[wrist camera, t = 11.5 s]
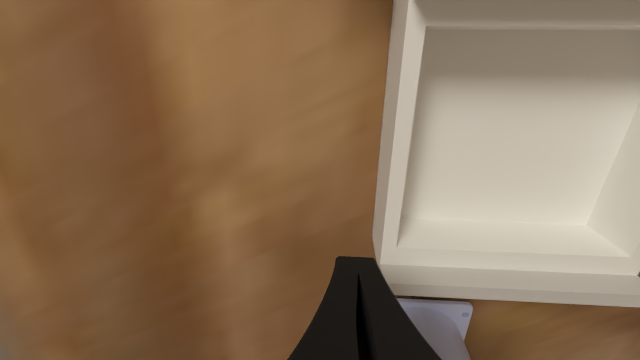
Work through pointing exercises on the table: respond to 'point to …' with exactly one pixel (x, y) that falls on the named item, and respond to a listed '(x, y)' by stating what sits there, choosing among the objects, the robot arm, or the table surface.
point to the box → (511, 151)
